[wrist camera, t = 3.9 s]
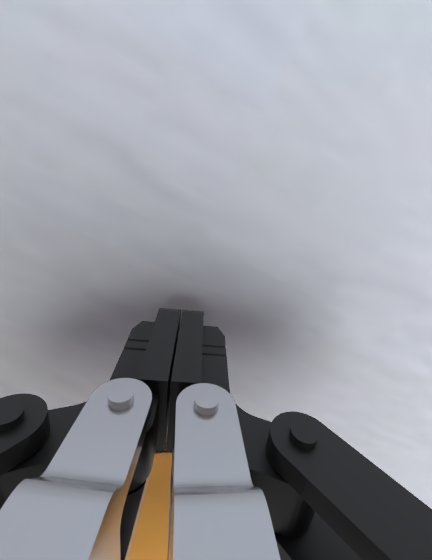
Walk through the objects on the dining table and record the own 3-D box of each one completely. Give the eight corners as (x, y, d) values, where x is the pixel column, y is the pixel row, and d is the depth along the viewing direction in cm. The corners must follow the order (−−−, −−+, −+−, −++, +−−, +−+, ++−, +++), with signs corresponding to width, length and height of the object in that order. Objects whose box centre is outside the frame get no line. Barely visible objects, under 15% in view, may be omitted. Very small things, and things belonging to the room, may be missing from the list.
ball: (112, 422, 14) (59, 572, 9) (228, 429, 14) (239, 576, 9) (114, 497, 16) (72, 653, 11) (215, 501, 17) (219, 654, 11)
